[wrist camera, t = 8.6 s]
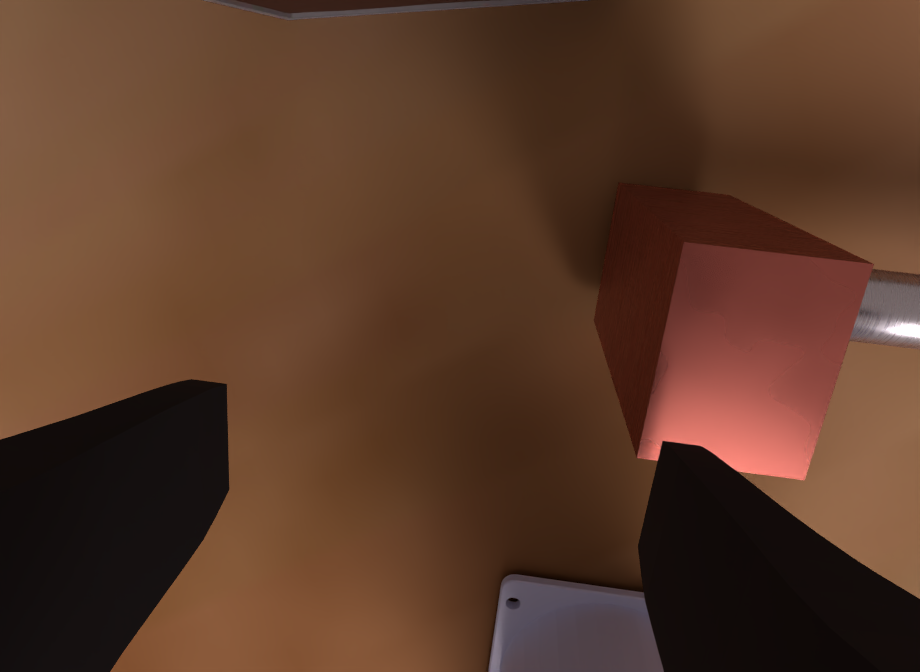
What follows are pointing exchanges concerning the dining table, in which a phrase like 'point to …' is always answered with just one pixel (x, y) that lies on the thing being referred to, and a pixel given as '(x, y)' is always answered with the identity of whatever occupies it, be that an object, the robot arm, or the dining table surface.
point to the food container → (361, 6)
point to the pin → (735, 325)
